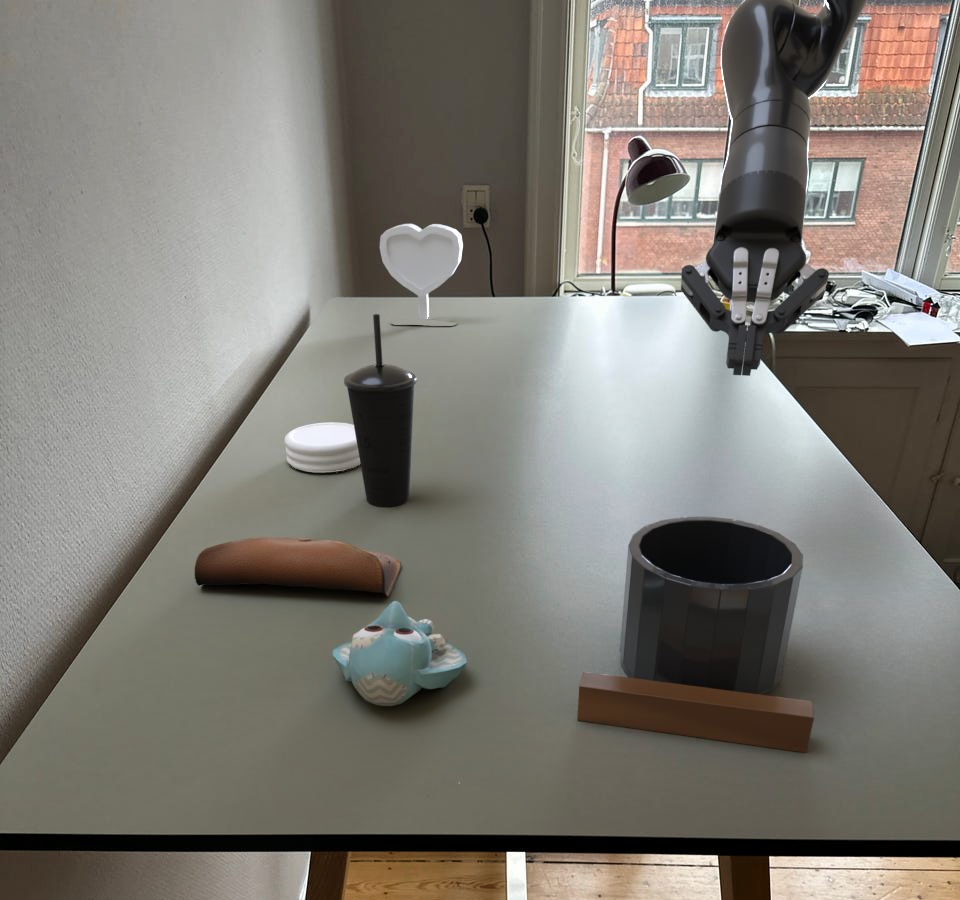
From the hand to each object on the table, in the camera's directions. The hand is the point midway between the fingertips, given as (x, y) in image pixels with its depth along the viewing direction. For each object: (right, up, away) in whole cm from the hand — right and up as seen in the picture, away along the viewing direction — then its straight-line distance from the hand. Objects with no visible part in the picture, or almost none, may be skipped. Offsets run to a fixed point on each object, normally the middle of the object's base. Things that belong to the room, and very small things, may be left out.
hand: (742, 370), depth 78 cm
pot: (-5, -25, -5) cm, 26 cm away
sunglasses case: (-39, -17, +9) cm, 44 cm away
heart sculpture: (-34, +40, +104) cm, 116 cm away
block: (-7, -29, -12) cm, 33 cm away
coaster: (-42, -1, +36) cm, 55 cm away
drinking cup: (-33, -7, +26) cm, 42 cm away
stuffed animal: (-29, -26, -6) cm, 39 cm away
